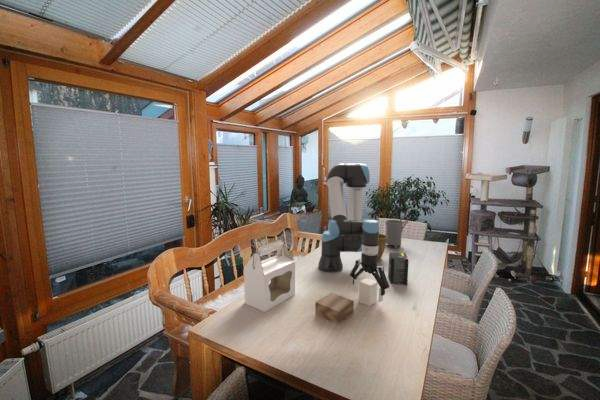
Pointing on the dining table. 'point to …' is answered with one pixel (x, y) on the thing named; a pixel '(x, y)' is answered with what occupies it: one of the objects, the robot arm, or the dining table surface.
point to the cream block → (368, 291)
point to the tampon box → (398, 268)
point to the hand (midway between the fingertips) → (367, 296)
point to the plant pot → (381, 245)
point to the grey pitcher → (394, 231)
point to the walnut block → (334, 308)
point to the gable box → (269, 277)
